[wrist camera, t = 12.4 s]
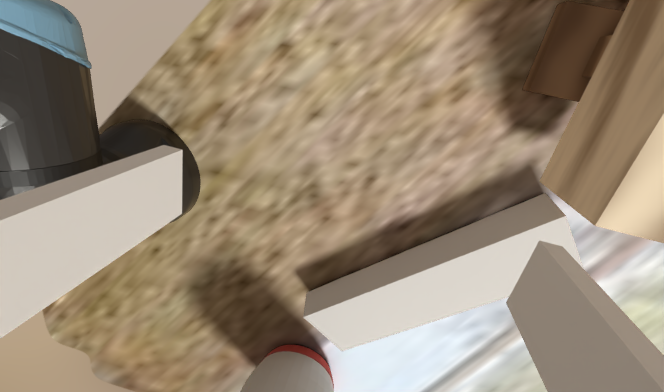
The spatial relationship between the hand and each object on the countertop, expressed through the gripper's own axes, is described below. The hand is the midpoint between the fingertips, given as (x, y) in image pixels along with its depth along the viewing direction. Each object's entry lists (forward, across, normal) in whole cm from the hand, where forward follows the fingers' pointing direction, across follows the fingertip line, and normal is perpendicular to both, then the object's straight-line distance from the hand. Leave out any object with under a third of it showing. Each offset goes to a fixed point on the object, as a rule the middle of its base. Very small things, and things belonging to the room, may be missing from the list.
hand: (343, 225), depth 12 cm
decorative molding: (+29, +15, -23) cm, 40 cm away
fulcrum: (+29, +20, +10) cm, 36 cm away
